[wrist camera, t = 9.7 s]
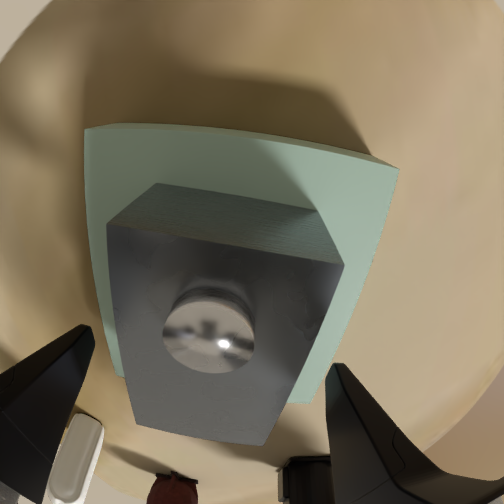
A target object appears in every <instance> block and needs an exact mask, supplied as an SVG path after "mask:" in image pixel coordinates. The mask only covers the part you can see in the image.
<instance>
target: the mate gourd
mask: <svg viewBox="0 0 504 504" xmlns="http://www.w3.org/2000/svg"><path fill="white" fill-rule="evenodd" d="M155 476H156V477H157V479H156V481H155V482H154V484H153V486H152V487H151V490H150V493H149V495H148V497H147V504H198V494H197V489H196V484H198V480H193V479H186V478H180V477H179V476H178V474H177V472H174V471H171V476H169V475H164V474H159V473H156V475H155Z"/></svg>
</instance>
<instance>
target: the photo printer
mask: <svg viewBox="0 0 504 504" xmlns="http://www.w3.org/2000/svg"><path fill="white" fill-rule="evenodd" d="M103 437H104V427H103V426H101V424H100V423H99V422H98V421H97V420H95V419H93V418H91V417H89V416H87V415H85V414H81V413H80V414H77V413H76V414H75V415H74V417H73V418H72V420H71V423H70V425H69V427H68V430H67V432H66V434H65V437H64V439H63V442H62V444H61V446H60V449H59V451H58V454H57V457H56V459H55V462H54V464H53V467H52V469H51V472H50V476H49V479H48V483H47V486H46V488H47V493H48V497H49V498H50V501H51V502H52V504H83V503H84V500H85V496H86V493H87V490H88V487H89V484H90V481H91V478H92V475H93V472H94V469H95V466H96V463H97V460H98V456H99V453H100V450H101V447H102V443H103Z"/></svg>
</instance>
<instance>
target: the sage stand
mask: <svg viewBox="0 0 504 504" xmlns="http://www.w3.org/2000/svg"><path fill="white" fill-rule="evenodd" d="M398 173H399V169H398V168H396V167H394V166H392V165H390V164H388V163H386V162H384V161H382V160H380V159H378V158H376V157H374V156H371V155H368V154H364V153H360V152H356V151H352V150H347V149H343V148H339V147H334V146H330V145H325V144H320V143H315V142H310V141H305V140H300V139H294V138H288V137H282V136H276V135H270V134H263V133H256V132H249V131H241V130H233V129H224V128H214V127H204V126H191V125H176V124H155V123H114V124H108V125H103V126H97V127H92V128H87V129H85V133H84V181H85V202H86V216H87V228H88V237H89V246H90V254H91V262H92V268H93V275H94V281H95V287H96V293H97V298H98V303H99V308H100V313H101V318H102V322H103V327H104V331H105V335H106V339H107V343H108V347H109V351H110V355H111V359H112V362H113V366H114V369H115V373H116V375H117V376H121V377H124V378H125V376H124V372H123V367H122V362H121V357H120V351H119V346H118V340H117V334H116V327H115V321H114V314H113V306H112V298H111V289H110V279H109V268H108V254H107V236H106V223H108V222H109V221H110V220H111V219H112V218H113V217H114V216H116V215H117V214H118V213H119V212H120V211H122V210H123V209H124V208H125V207H126V206H128V205H129V204H130V203H131V202H133V201H134V200H135V199H136V198H138V197H139V196H140V195H141V194H143V193H144V192H145V191H146V190H148V189H149V188H150V187H151V186H153V185H154V184H155V183H161V184H169V185H176V186H183V187H189V188H196V189H202V190H209V191H215V192H221V193H227V194H233V195H239V196H245V197H250V198H256V199H261V200H267V201H272V202H277V203H282V204H287V205H293V206H298V207H303V208H307V209H312V210H317V211H318V212H319V214H320V216H321V218H322V219H323V221H324V223H325V225H326V227H327V229H328V231H329V233H330V235H331V237H332V239H333V241H334V243H335V245H336V247H337V249H338V251H339V254H340V256H341V258H342V260H343V262H344V264H345V267H344V270H343V272H342V275H341V278H340V281H339V283H338V286H337V288H336V291H335V294H334V296H333V299H332V301H331V304H330V306H329V309H328V311H327V314H326V316H325V318H324V321H323V323H322V326H321V328H320V330H319V333H318V335H317V337H316V340H315V342H314V344H313V347H312V349H311V351H310V353H309V356H308V358H307V360H306V362H305V364H304V366H303V369H302V371H301V373H300V375H299V377H298V379H297V381H296V383H295V385H294V388H293V390H292V392H291V394H290V396H289V398H288V400H287V402H286V403H305V404H310V403H311V401H312V399H313V397H314V395H315V393H316V391H317V389H318V387H319V385H320V383H321V381H322V379H323V377H324V375H325V373H326V371H327V369H328V367H329V365H330V363H331V361H332V358H333V356H334V354H335V352H336V350H337V348H338V345H339V343H340V341H341V339H342V336H343V334H344V332H345V330H346V327H347V325H348V323H349V320H350V318H351V315H352V313H353V310H354V308H355V306H356V303H357V300H358V298H359V295H360V293H361V290H362V288H363V285H364V282H365V280H366V277H367V274H368V271H369V269H370V266H371V263H372V260H373V257H374V254H375V251H376V248H377V245H378V242H379V239H380V236H381V233H382V230H383V227H384V224H385V220H386V217H387V214H388V210H389V207H390V203H391V200H392V196H393V192H394V189H395V185H396V181H397V177H398Z"/></svg>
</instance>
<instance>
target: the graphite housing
mask: <svg viewBox="0 0 504 504" xmlns="http://www.w3.org/2000/svg"><path fill="white" fill-rule="evenodd" d="M106 236H107V254H108V268H109V279H110V289H111V298H112V306H113V314H114V321H115V327H116V334H117V340H118V346H119V351H120V357H121V362H122V367H123V372H124V376H125V381H126V385H127V390H128V394H129V398H130V402H131V406H132V410H133V413H134V417H135V421H136V424H138V425H142V426H146V427H150V428H153V429H158V430H162V431H166V432H170V433H175V434H180V435H185V436H190V437H195V438H201V439H207V440H213V441H220V442H227V443H236V444H245V445H255V446H263V445H264V443H265V442H266V440H267V438H268V436H269V434H270V432H271V431H272V429H273V427H274V425H275V423H276V421H277V419H278V417H279V415H280V414H281V412H282V410H283V408H284V406H285V404H286V402H287V400H288V398H289V396H290V394H291V392H292V390H293V388H294V385H295V383H296V381H297V379H298V377H299V375H300V373H301V371H302V369H303V366H304V364H305V362H306V360H307V358H308V356H309V353H310V351H311V349H312V347H313V344H314V342H315V340H316V337H317V335H318V333H319V330H320V328H321V326H322V323H323V321H324V318H325V316H326V314H327V311H328V309H329V306H330V304H331V301H332V299H333V296H334V294H335V291H336V288H337V286H338V283H339V281H340V278H341V275H342V272H343V270H344V267H345V264H344V262H343V260H342V258H341V256H340V254H339V251H338V249H337V247H336V245H335V243H334V241H333V239H332V237H331V235H330V233H329V231H328V229H327V227H326V225H325V223H324V221H323V219H322V218H321V216H320V214H319V212H318V211H317V210H312V209H307V208H303V207H298V206H293V205H287V204H282V203H277V202H272V201H267V200H261V199H256V198H250V197H245V196H239V195H233V194H227V193H221V192H215V191H209V190H202V189H196V188H189V187H183V186H176V185H169V184H161V183H155V184H154V185H153V186H151V187H150V188H149V189H148V190H146V191H145V192H144V193H143V194H141V195H140V196H139V197H138V198H136V199H135V200H134V201H133V202H131V203H130V204H129V205H128V206H126V207H125V208H124V209H123V210H122V211H120V212H119V213H118V214H117V215H116V216H114V217H113V218H112V219H111V220H110V221H109V222H108V223H106Z"/></svg>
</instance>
